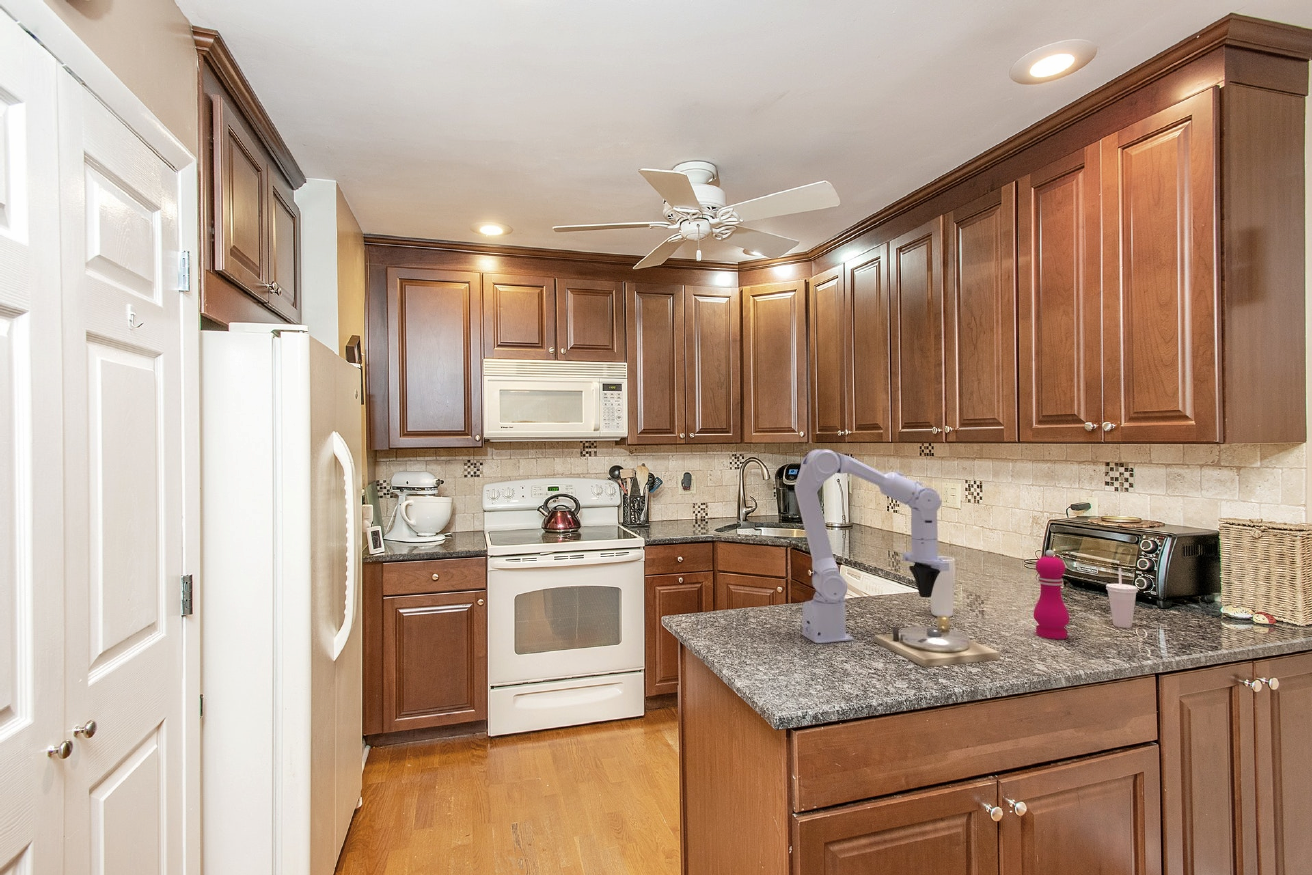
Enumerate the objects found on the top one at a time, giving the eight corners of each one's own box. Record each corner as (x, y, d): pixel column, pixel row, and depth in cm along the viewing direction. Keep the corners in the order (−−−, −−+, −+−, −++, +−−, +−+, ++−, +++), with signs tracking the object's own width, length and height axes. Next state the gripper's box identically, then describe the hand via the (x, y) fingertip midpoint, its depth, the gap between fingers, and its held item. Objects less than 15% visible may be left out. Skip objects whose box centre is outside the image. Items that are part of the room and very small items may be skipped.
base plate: (924, 667, 134) (924, 644, 134) (874, 641, 151) (874, 622, 151) (999, 659, 138) (999, 637, 138) (942, 635, 156) (942, 616, 156)
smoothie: (1128, 622, 165) (1127, 566, 165) (1144, 629, 159) (1143, 570, 159) (1101, 622, 166) (1100, 565, 166) (1116, 629, 159) (1115, 570, 159)
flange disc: (953, 656, 135) (953, 634, 135) (888, 642, 145) (888, 621, 145) (979, 641, 144) (979, 620, 145) (917, 629, 155) (916, 610, 155)
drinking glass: (952, 619, 169) (951, 561, 169) (925, 616, 173) (924, 558, 174) (959, 614, 175) (957, 557, 175) (932, 610, 179) (931, 555, 179)
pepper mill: (1075, 640, 150) (1073, 552, 151) (1040, 639, 152) (1038, 551, 152) (1062, 631, 157) (1060, 547, 158) (1029, 630, 159) (1027, 547, 159)
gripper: (960, 541, 149) (961, 602, 149) (919, 533, 163) (920, 589, 163) (933, 543, 147) (934, 604, 147) (894, 535, 161) (895, 591, 161)
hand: (925, 596), depth 155 cm, fingers closed
